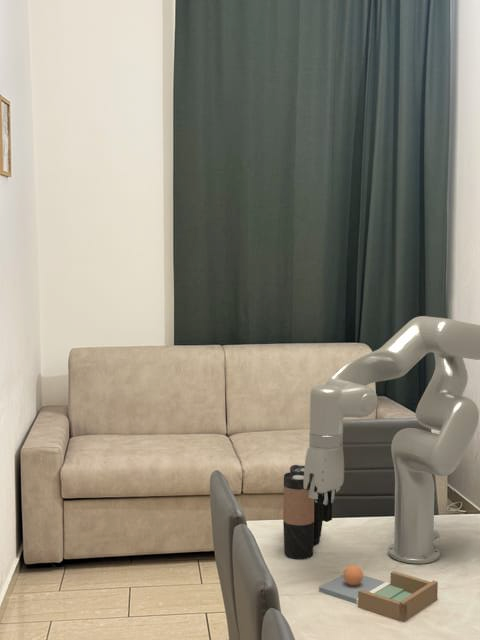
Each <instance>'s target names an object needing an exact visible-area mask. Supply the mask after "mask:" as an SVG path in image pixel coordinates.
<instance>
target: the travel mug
mask: <svg viewBox="0 0 480 640" xmlns="http://www.w3.org/2000/svg"><path fill="white" fill-rule="evenodd" d="M309 491H310V490H305V489H304V472H299V473H297V474H291V473H290V472H285V474H284V475H283V501H282V503H283V507H282V508H283V511H282V513H283V514H282V515H283V517H282V518H283V520H282V521H283V524H282V525H283V553H284V556H286V557H287V558H288V559H293V560H306V559H309V558H311V557H313V555H314V546H313V540H314V499H311V498H309Z"/></svg>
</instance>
